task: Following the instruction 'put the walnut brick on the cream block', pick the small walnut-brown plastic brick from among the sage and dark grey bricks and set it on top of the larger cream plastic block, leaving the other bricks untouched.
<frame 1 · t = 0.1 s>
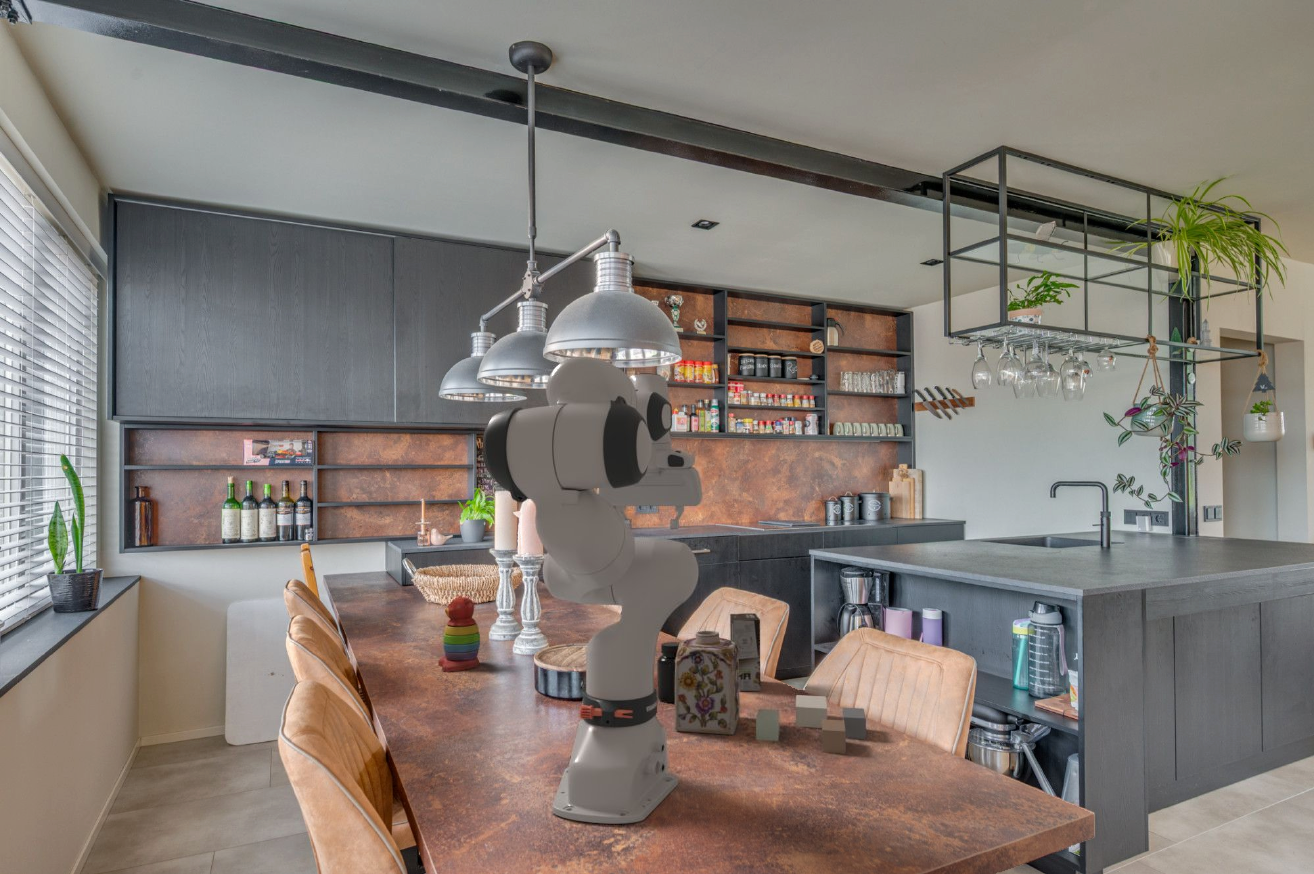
hand: (650, 528, 145), 39 cm above the table, tool pointing down, fingers open, 8 cm apart
supplement bottle: (672, 699, 164), on the table
grey brick: (854, 734, 141), on the table
cream block: (811, 721, 149), on the table
sage brick: (768, 735, 141), on the table
walnut brick: (833, 747, 134), on the table
decorative jar: (708, 725, 147), on the table
stacking bear: (460, 666, 194), on the table
coffee box: (745, 686, 174), on the table
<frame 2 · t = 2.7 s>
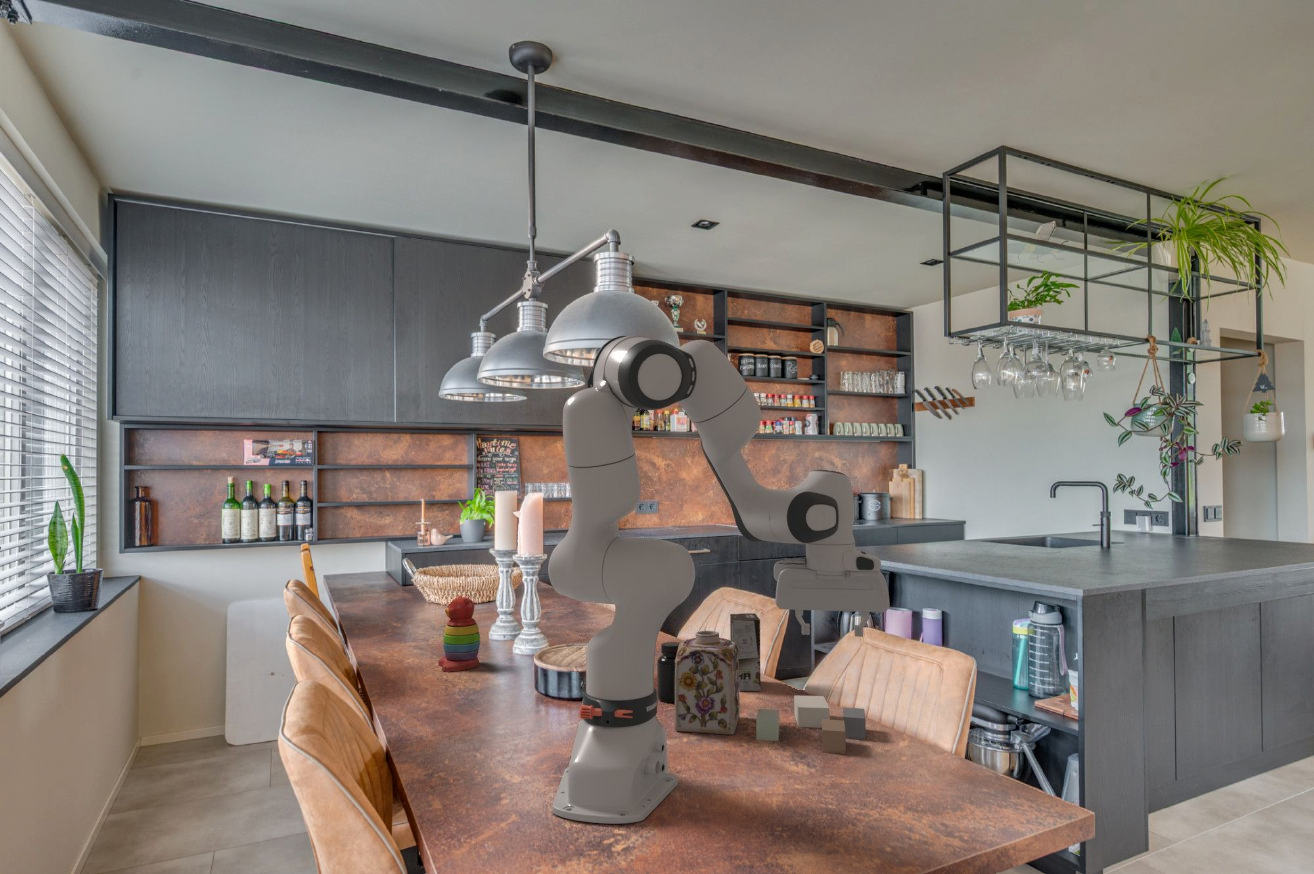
hand: (832, 635, 135), 20 cm above the table, tool pointing down, fingers open, 8 cm apart
nothing on the table moved.
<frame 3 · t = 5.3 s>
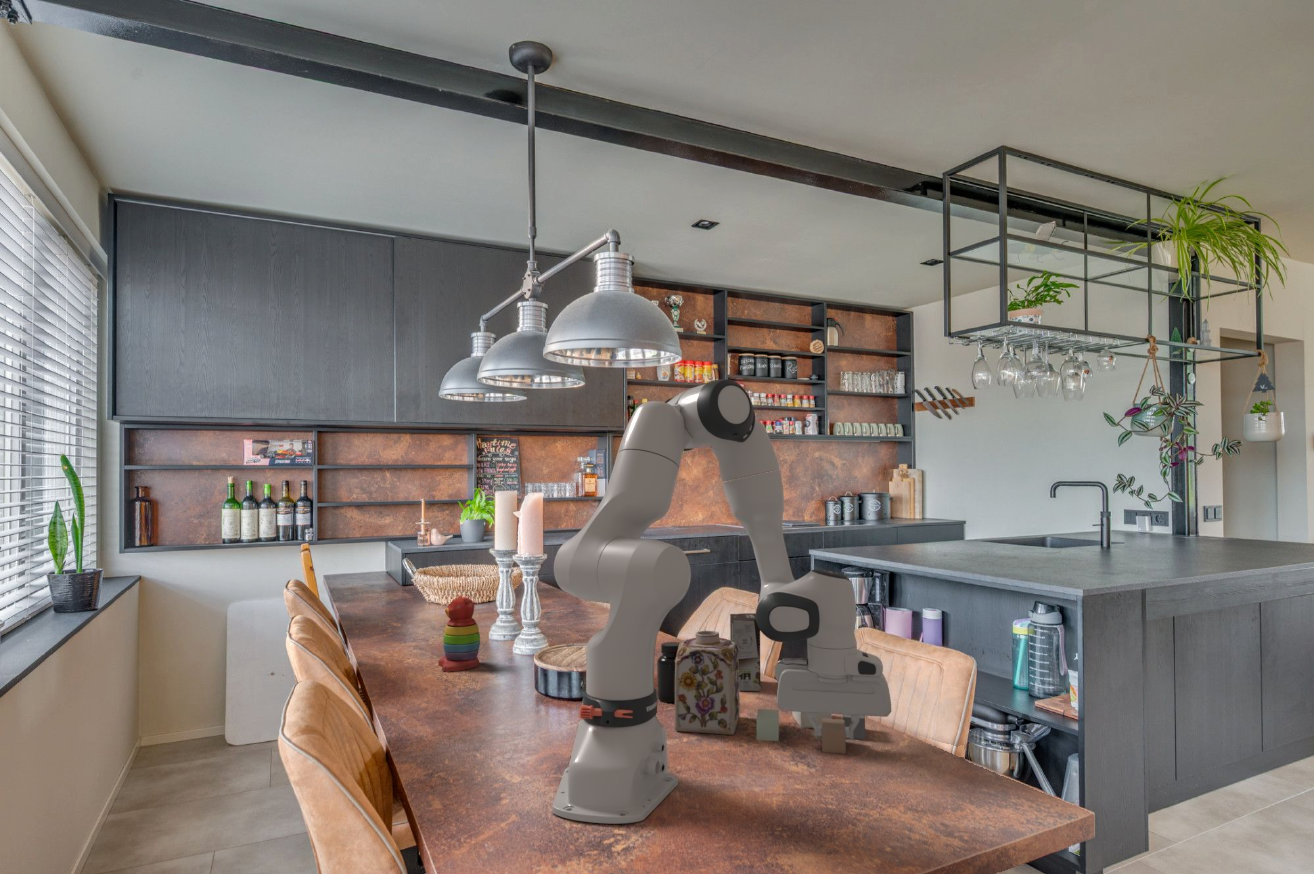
hand: (833, 737, 134), 2 cm above the table, tool pointing down, fingers closed on walnut brick, 4 cm apart
walnut brick: (833, 746, 134), on the table, touching gripper
everything else where it was.
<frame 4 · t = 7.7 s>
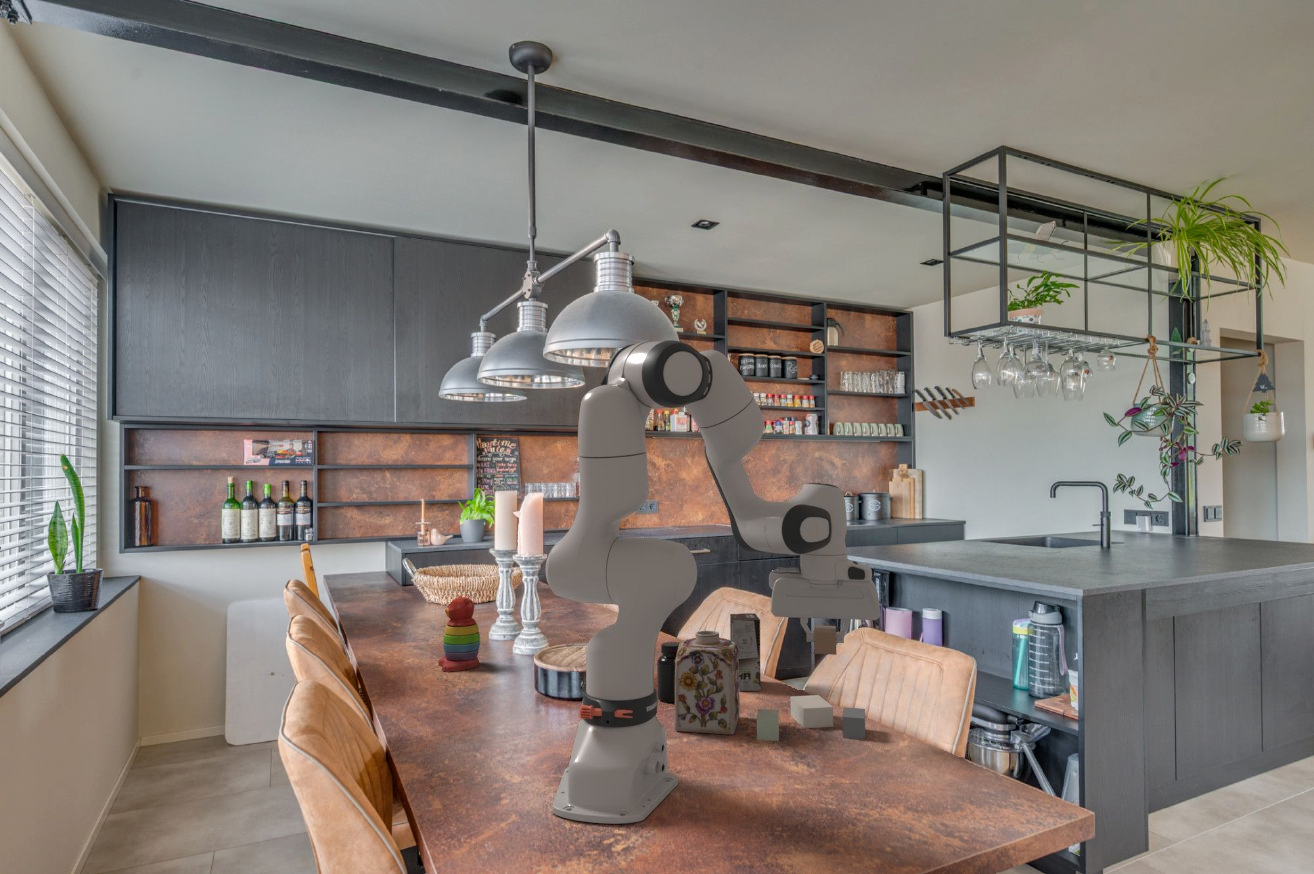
hand: (825, 641, 141), 18 cm above the table, tool pointing down, fingers closed on walnut brick, 4 cm apart
walnut brick: (825, 650, 141), point 16 cm above the table, touching gripper
everything else where it was.
when the fingers open (7 cm above the table, at t = 10.0 s): walnut brick drops 2 cm, resting on cream block.
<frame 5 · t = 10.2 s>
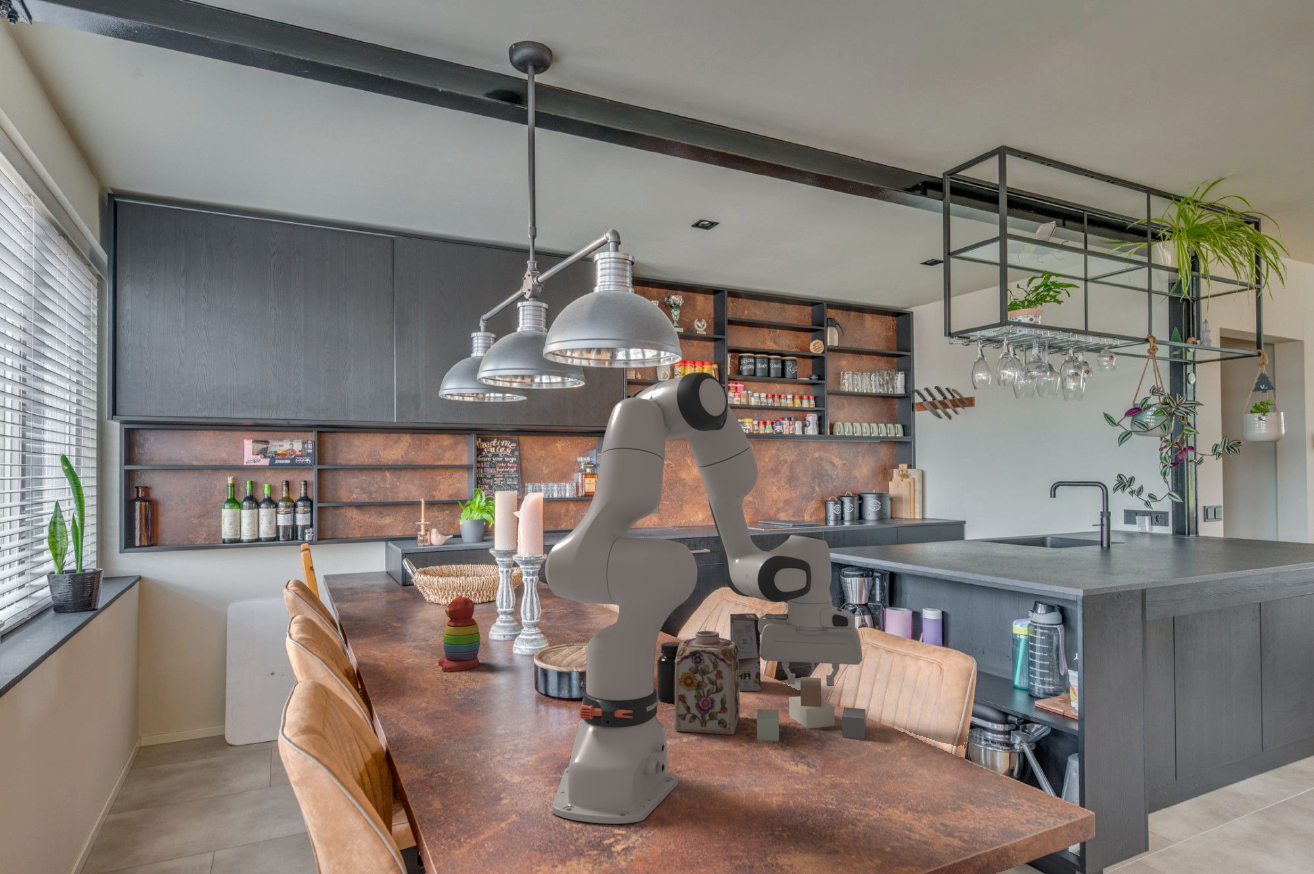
hand: (810, 684, 149), 7 cm above the table, tool pointing down, fingers open, 6 cm apart
cream block: (811, 721, 149), on the table, touching walnut brick
walnut brick: (811, 701, 149), point 4 cm above the table, touching cream block
everything else where it was.
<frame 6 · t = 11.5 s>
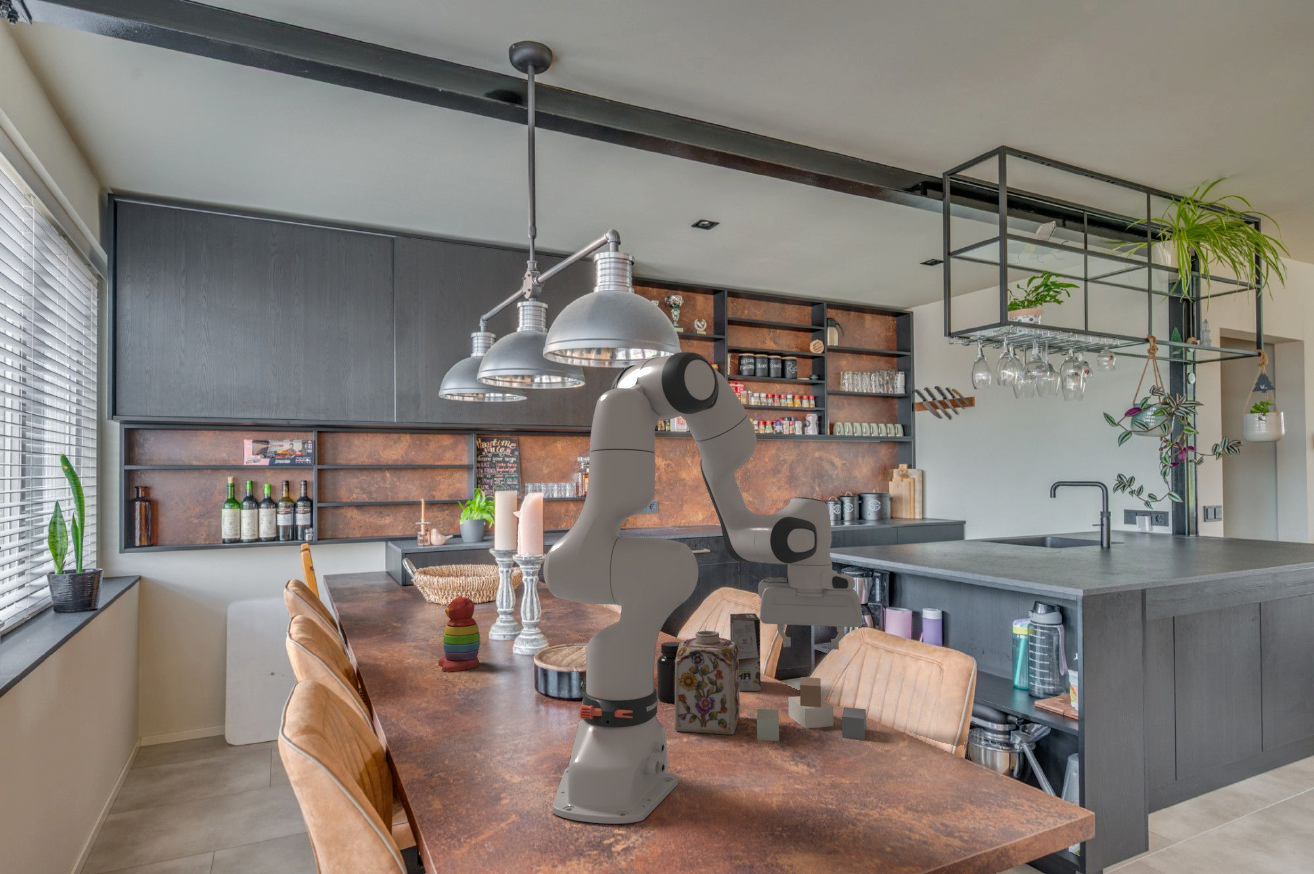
hand: (810, 647, 149), 14 cm above the table, tool pointing down, fingers open, 8 cm apart
nothing on the table moved.
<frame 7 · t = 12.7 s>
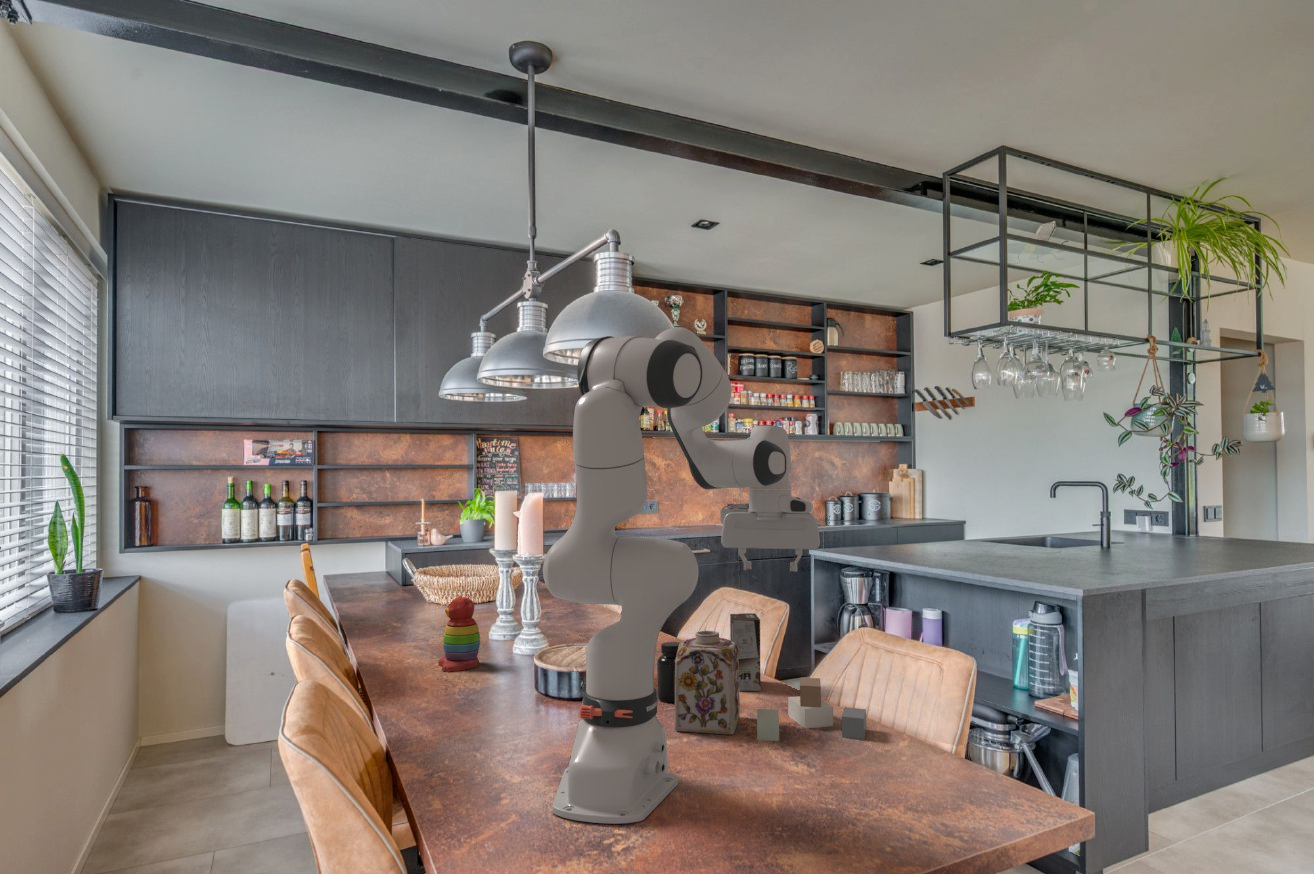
hand: (770, 570, 154), 29 cm above the table, tool pointing down, fingers open, 8 cm apart
nothing on the table moved.
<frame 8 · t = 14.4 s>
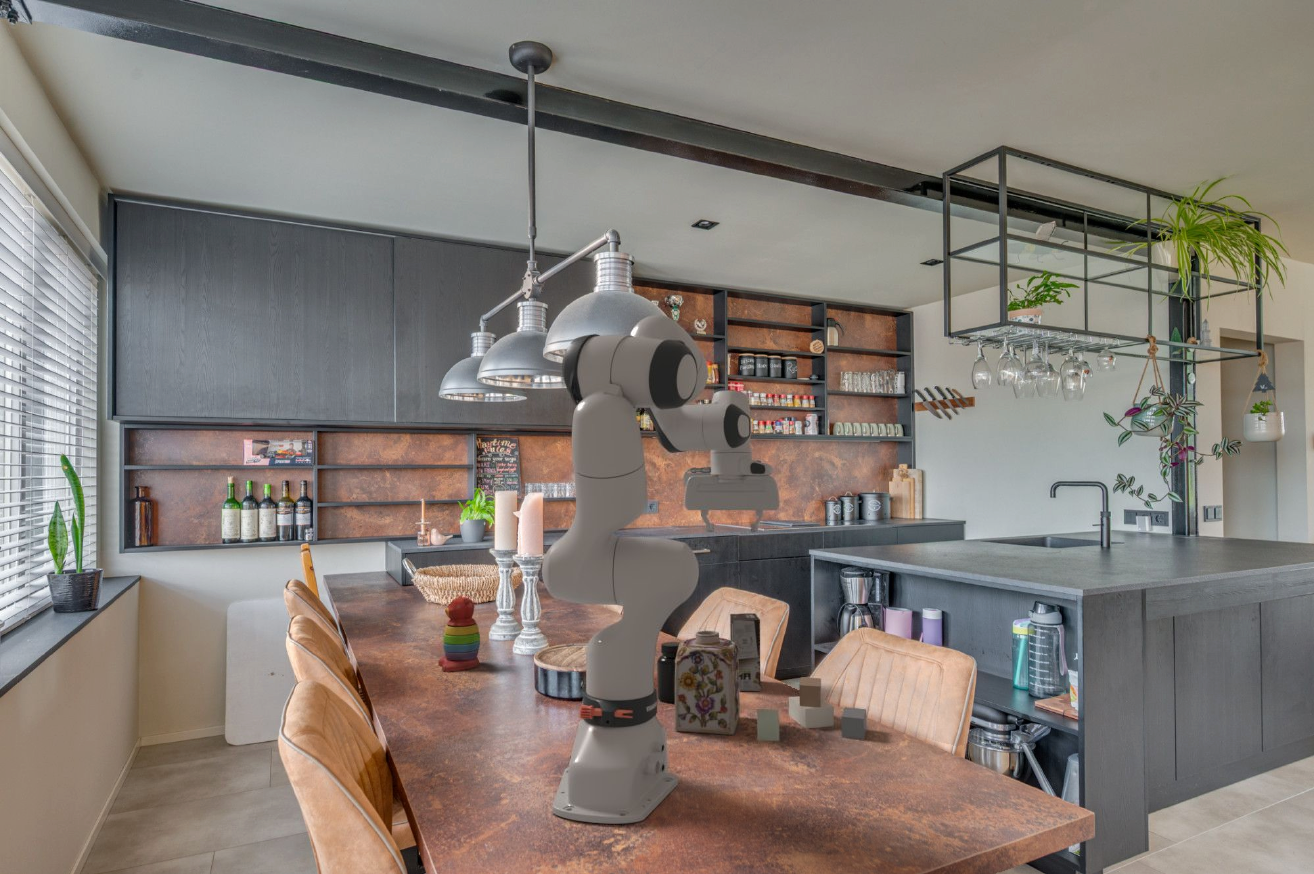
hand: (732, 532, 158), 37 cm above the table, tool pointing down, fingers open, 8 cm apart
cream block: (811, 721, 149), on the table
walnut brick: (810, 701, 149), point 4 cm above the table
everything else where it was.
at the end: walnut brick 0.3 cm off-centre on the cream block, point 4.0 cm above the cream block's base; grey brick moved 0.2 cm from its start; sage brick moved 0.2 cm from its start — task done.
